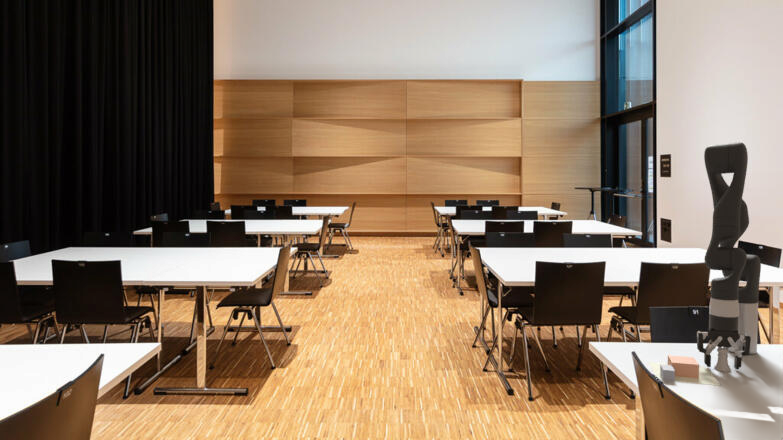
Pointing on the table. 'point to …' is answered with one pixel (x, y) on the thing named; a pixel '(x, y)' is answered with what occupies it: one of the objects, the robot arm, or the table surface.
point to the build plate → (704, 377)
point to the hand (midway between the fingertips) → (722, 367)
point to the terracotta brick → (684, 366)
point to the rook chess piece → (722, 360)
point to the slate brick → (667, 372)
